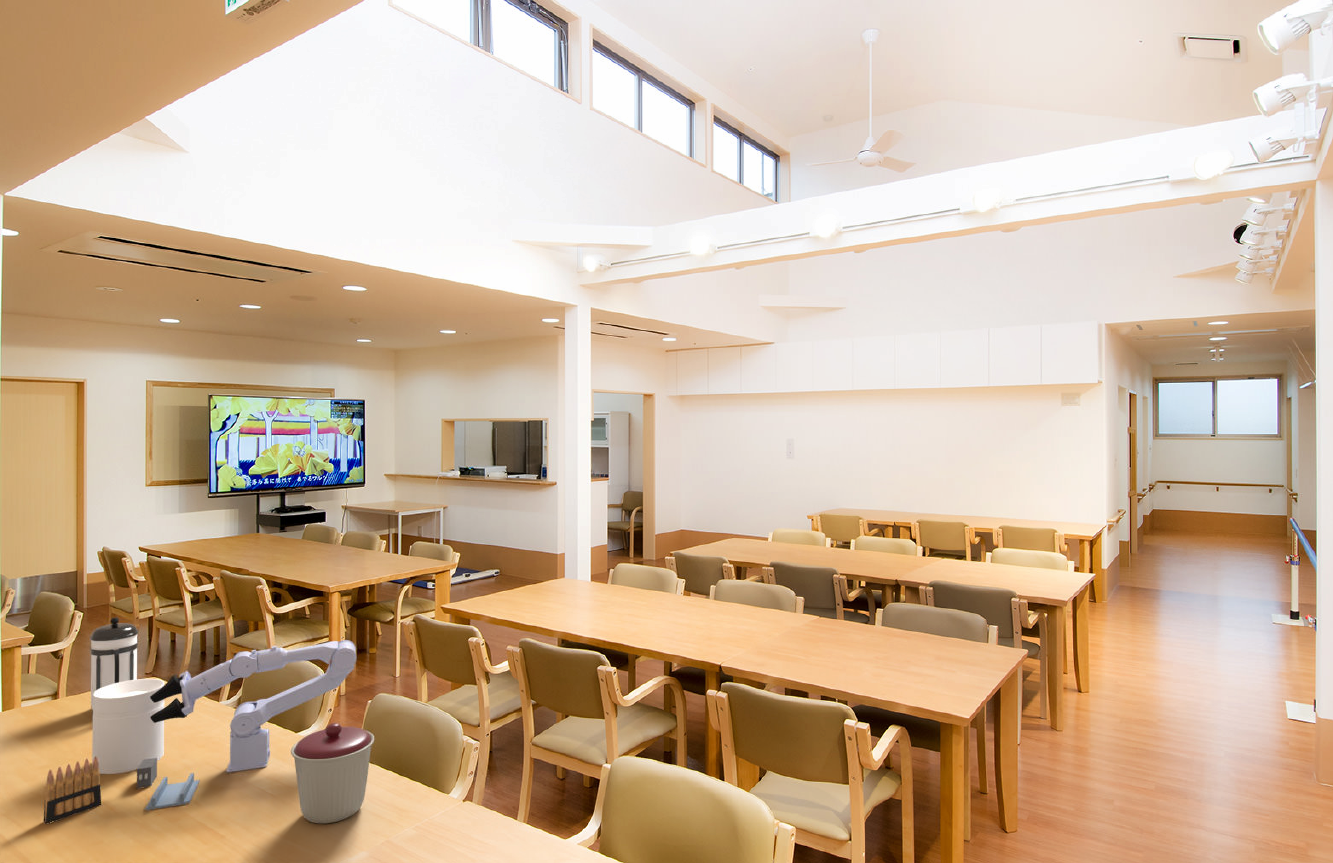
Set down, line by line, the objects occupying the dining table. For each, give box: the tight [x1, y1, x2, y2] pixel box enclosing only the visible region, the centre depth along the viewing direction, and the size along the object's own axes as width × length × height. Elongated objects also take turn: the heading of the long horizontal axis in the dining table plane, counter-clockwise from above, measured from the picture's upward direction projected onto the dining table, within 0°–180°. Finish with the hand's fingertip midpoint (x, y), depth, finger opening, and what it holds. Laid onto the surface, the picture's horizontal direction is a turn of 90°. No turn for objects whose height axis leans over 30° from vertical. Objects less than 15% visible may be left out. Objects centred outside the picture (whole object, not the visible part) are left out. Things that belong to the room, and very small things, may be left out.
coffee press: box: [89, 617, 140, 710], centre depth 241 cm, size 17×16×30 cm
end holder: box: [144, 772, 200, 811], centre depth 183 cm, size 9×12×3 cm
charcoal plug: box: [136, 758, 158, 789], centre depth 190 cm, size 3×7×5 cm, turn 23°
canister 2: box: [290, 722, 375, 824], centre depth 175 cm, size 18×18×21 cm
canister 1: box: [91, 678, 165, 775], centre depth 203 cm, size 16×16×20 cm
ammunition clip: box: [43, 756, 102, 825], centre depth 175 cm, size 11×2×12 cm, turn 146°
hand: (152, 709), depth 192 cm, fingers open, 7 cm apart
